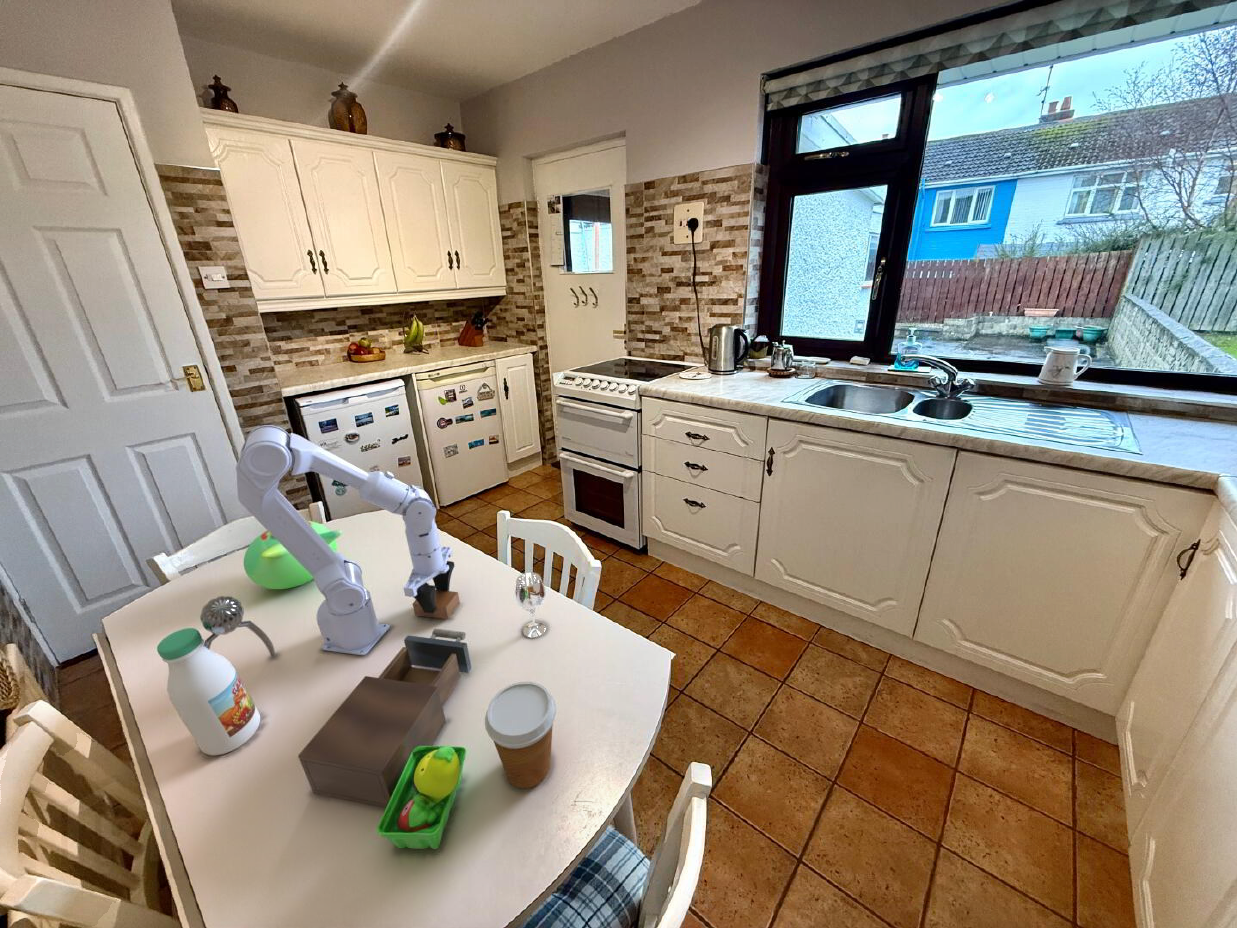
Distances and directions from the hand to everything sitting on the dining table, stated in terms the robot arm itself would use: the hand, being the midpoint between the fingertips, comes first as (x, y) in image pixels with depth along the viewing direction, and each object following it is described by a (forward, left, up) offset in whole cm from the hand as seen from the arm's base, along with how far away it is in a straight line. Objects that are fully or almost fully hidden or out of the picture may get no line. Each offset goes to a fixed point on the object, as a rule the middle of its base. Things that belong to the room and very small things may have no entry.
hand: (436, 603), depth 101 cm
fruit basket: (+21, -37, -2) cm, 43 cm away
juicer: (-30, -19, +1) cm, 36 cm away
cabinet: (+9, -31, -2) cm, 32 cm away
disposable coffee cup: (+31, -29, -2) cm, 43 cm away
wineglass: (+22, -2, -2) cm, 22 cm away
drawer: (+9, -18, -1) cm, 20 cm away
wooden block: (0, 0, -2) cm, 2 cm away
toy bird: (-38, +5, -2) cm, 38 cm away
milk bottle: (-17, -32, -2) cm, 36 cm away
